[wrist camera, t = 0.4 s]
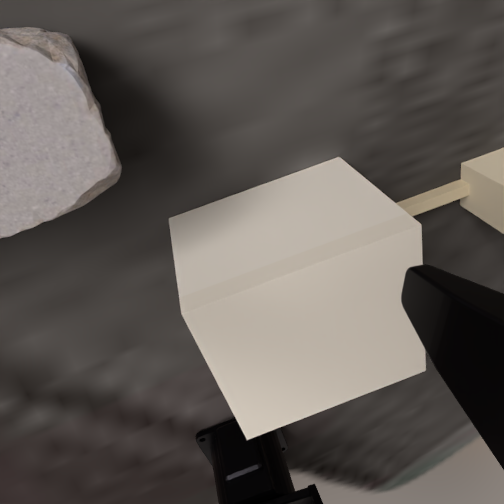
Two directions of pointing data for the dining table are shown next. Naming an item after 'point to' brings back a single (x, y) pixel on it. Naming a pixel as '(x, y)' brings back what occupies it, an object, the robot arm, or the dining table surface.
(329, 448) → the dining table surface
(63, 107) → the decorative stone
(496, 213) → the cream and brown mallet
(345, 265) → the white open box
